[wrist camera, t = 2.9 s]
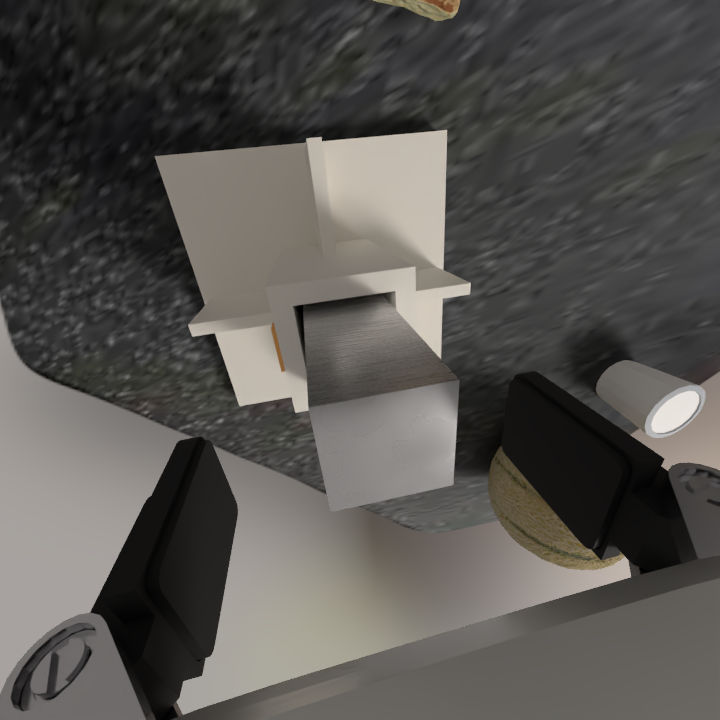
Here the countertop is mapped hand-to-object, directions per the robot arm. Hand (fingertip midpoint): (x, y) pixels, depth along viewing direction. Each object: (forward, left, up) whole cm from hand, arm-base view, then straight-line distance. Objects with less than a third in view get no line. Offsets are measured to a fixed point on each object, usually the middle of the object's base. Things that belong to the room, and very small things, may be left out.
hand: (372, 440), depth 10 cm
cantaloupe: (+25, +22, -20) cm, 39 cm away
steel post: (0, 0, -17) cm, 17 cm away
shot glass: (+17, +34, -20) cm, 43 cm away
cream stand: (0, 0, -20) cm, 20 cm away
